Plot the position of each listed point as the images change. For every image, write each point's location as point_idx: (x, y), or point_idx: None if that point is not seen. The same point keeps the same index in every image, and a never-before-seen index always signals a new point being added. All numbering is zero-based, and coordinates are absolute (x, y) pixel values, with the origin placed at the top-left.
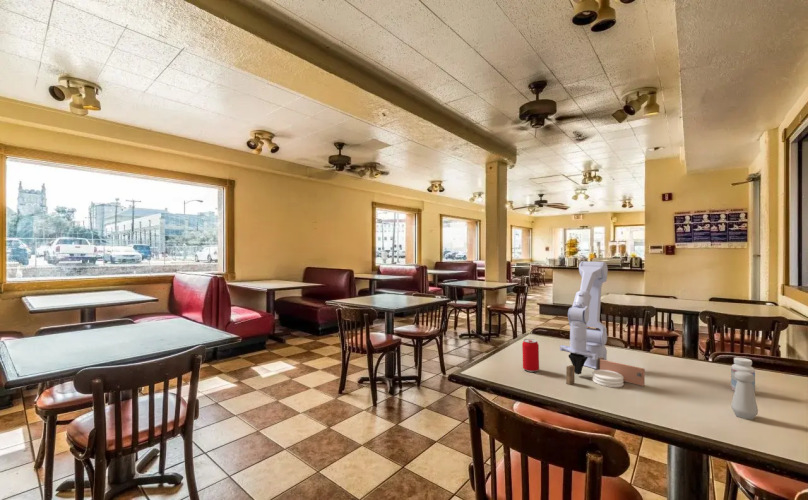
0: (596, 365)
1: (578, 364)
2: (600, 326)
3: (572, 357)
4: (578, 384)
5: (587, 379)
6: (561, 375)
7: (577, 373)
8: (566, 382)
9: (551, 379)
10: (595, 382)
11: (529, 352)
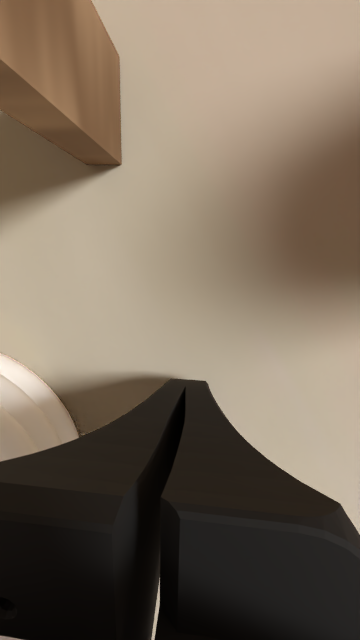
0: None
1: (110, 428)
2: None
3: (198, 494)
4: (48, 174)
5: (95, 383)
6: (307, 275)
7: (171, 379)
8: (113, 47)
9: (313, 15)
10: (3, 355)
11: None
